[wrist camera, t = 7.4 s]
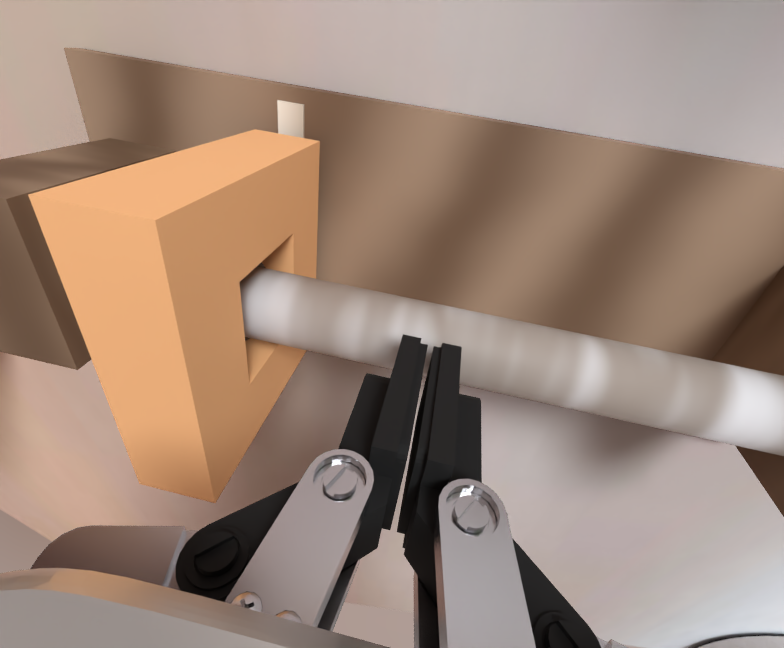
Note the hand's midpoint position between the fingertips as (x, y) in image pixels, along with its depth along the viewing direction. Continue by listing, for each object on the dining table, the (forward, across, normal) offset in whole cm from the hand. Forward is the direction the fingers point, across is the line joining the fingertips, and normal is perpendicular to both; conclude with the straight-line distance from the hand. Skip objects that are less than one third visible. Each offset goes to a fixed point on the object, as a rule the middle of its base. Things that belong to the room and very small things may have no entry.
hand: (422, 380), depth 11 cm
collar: (+6, +7, 0) cm, 9 cm away
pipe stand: (+8, 0, 0) cm, 8 cm away
